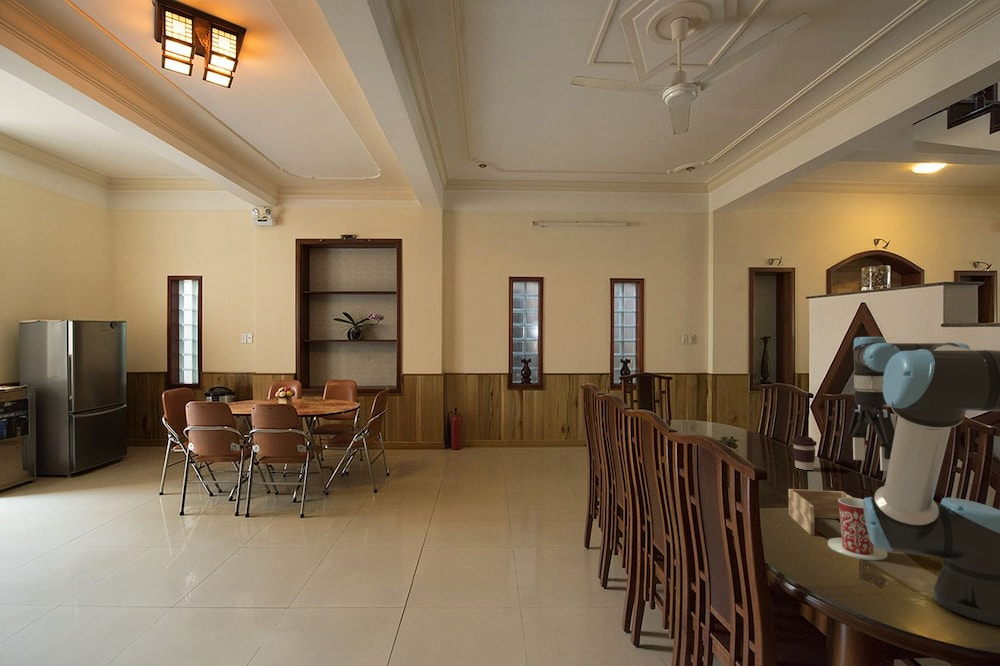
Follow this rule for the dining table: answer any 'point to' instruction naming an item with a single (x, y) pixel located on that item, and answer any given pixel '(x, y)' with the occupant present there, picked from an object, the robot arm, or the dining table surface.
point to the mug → (854, 527)
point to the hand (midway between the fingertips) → (872, 465)
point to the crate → (814, 506)
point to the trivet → (837, 547)
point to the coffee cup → (804, 452)
